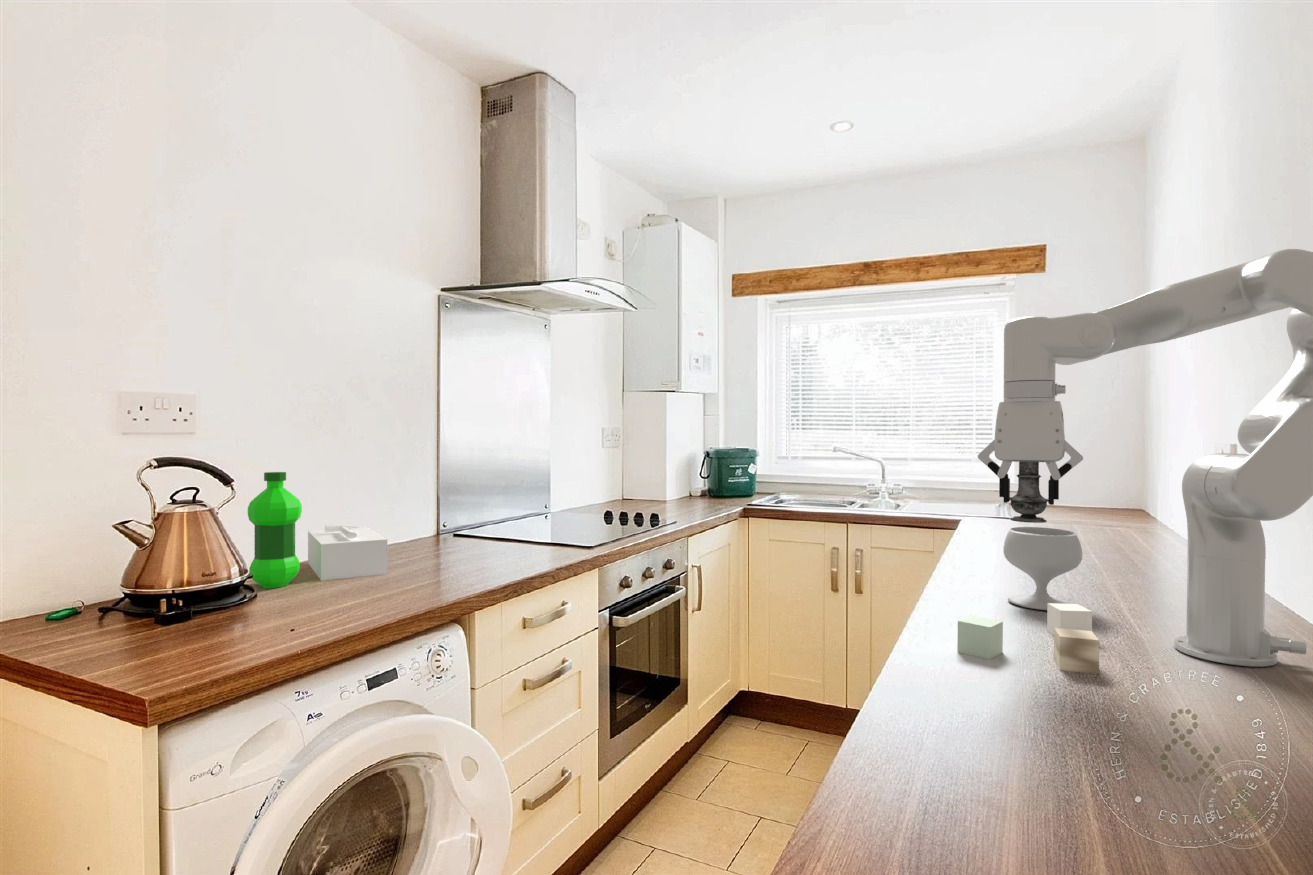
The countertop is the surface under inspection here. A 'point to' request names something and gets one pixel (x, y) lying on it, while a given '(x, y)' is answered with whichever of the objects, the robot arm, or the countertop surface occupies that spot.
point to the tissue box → (346, 552)
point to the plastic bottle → (274, 533)
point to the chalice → (1041, 560)
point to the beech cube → (1076, 650)
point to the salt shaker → (1028, 494)
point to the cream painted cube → (1068, 617)
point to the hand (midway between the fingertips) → (1028, 501)
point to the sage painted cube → (980, 637)
